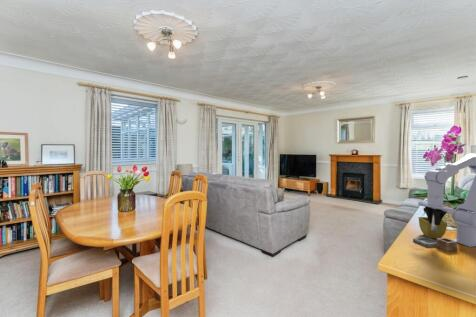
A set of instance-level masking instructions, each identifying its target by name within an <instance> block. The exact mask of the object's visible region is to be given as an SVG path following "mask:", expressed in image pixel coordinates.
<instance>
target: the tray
mask: <svg viewBox="0 0 476 317" xmlns="http://www.w3.org/2000/svg"><path fill="white" fill-rule="evenodd" d="M412 241H413V242H414V243H417V244H419V245H422V246H424V247H426V248H435V247H436V239H434V238H429V237H427V236H424V237H423V236H422V237H415V238H413V239H412Z"/></svg>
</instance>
